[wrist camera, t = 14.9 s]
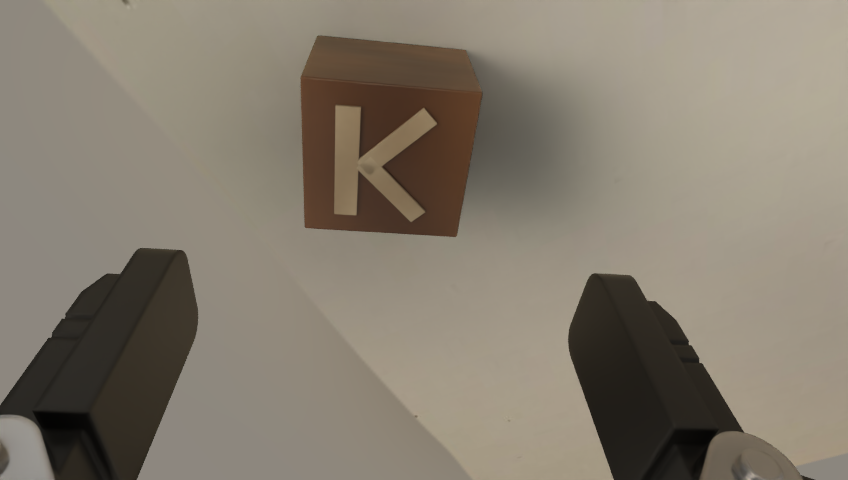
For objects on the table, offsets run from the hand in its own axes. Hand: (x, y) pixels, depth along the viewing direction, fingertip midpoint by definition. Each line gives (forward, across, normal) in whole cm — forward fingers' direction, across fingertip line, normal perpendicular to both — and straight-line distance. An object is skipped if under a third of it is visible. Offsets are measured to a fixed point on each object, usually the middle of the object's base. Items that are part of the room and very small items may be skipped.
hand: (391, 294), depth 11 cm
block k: (+10, 0, 0) cm, 10 cm away
